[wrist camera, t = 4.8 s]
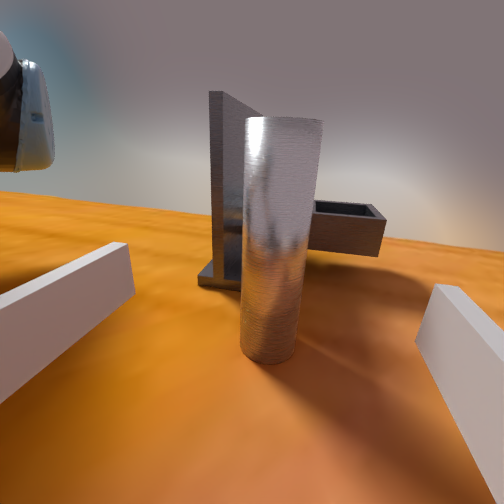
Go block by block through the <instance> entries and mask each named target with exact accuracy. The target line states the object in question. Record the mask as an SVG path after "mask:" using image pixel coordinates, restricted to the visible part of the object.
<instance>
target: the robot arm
mask: <svg viewBox="0 0 504 504" xmlns="http://www.w3.org/2000/svg"><path fill="white" fill-rule="evenodd" d="M54 147H55V146H54V134H53V124H52V117H51V109H50V103H49V97H48V92H47V87H46V82H45V78H44V75H43V72H42V70H41V69H40V67H39V66H38V65H37V64H36V63H33V62H29V61H28V60H26V59H21V60H17V58H16V56H15V54H14V52H13V50H12V47H11V45H10V43H9V41H8V39H7V38H6V36H5V35H4V34H3V33H2V31H0V172H16V173H17V172H20V171H28V170H42V169H46V168H48V167H50V165H51V164H52V163H53V161H54V155H55V148H54ZM133 295H135V287H134V281H133V275H132V268H131V262H130V255H129V249H128V244H126V243H119V242H112V243H110V244H108V245H106V246H104V247H102V248H99V249H97V250H95V251H93V252H91V253H89V254H87V255H85V256H82V257H80V258H78V259H76V260H74V261H72V262H70V263H68V264H65V265H63V266H61V267H59V268H57V269H55V270H53V271H51V272H48V273H46V274H44V275H42V276H40V277H38V278H36V279H34V280H31V281H29V282H27V283H25V284H23V285H21V286H19V287H16V288H14V289H12V290H10V291H8V292H6V293H4V294H2V295H0V404H1V403H2V402H3V401H4V400H6V399H7V398H8V397H9V396H11V395H12V394H13V393H14V392H15V391H17V390H18V389H19V388H20V387H22V386H23V385H24V384H25V383H26V382H28V381H29V380H30V379H31V378H33V377H34V376H35V375H36V374H38V373H39V372H40V371H41V370H42V369H44V368H45V367H46V366H47V365H49V364H50V363H51V362H52V361H54V360H55V359H56V358H57V357H58V356H60V355H61V354H62V353H63V352H65V351H66V350H67V349H68V348H69V347H71V346H72V345H73V344H74V343H76V342H77V341H78V340H79V339H81V338H82V337H83V336H84V335H85V334H87V333H88V332H89V331H90V330H92V329H93V328H94V327H95V326H97V325H98V324H99V323H100V322H101V321H103V320H104V319H105V318H106V317H108V316H109V315H110V314H111V313H112V312H114V311H115V310H116V309H117V308H119V307H120V306H121V305H122V304H124V303H125V302H126V301H127V300H128V299H130V298H131V297H132V296H133ZM415 343H416V345H417V347H418V349H419V351H420V353H421V355H422V357H423V359H424V361H425V363H426V365H427V367H428V369H429V371H430V373H431V375H432V377H433V379H434V381H435V383H436V385H437V386H438V388H439V390H440V392H441V394H442V396H443V398H444V400H445V402H446V404H447V406H448V408H449V410H450V412H451V414H452V416H453V418H454V420H455V422H456V424H457V426H458V428H459V430H460V432H461V434H462V436H463V438H464V440H465V442H466V444H467V446H468V448H469V450H470V452H471V454H472V456H473V458H474V460H475V462H476V464H477V466H478V468H479V470H480V472H481V474H482V476H483V478H484V480H485V482H486V484H487V486H488V488H489V490H490V492H491V494H492V496H493V498H494V500H495V502H496V503H497V504H504V331H503V330H502V329H501V328H500V327H499V326H498V325H497V324H496V323H495V322H494V321H493V320H492V319H491V318H490V317H489V316H488V315H487V314H486V313H485V312H484V311H482V310H481V309H480V308H479V307H478V306H477V305H476V304H475V303H474V302H473V301H472V300H471V299H470V298H469V297H468V296H467V295H466V294H465V293H464V292H463V291H462V290H461V289H460V288H459V287H458V286H451V285H443V284H435V286H434V288H433V291H432V294H431V297H430V300H429V303H428V305H427V308H426V311H425V314H424V317H423V320H422V322H421V325H420V328H419V331H418V334H417V336H416V339H415Z"/></svg>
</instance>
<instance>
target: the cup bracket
mask: <svg viewBox="0 0 504 504" xmlns="http://www.w3.org/2000/svg"><path fill="white" fill-rule="evenodd" d="M209 115H210V116H209V118H210V159H211V160H210V161H211V206H212V250H213V259H212V260H211V261H210V262H209V263H208V265H207V266H206V267H205V268H204V269H203V270H202V271H201V272H200V273H199V274H198V285H202V286H208V287H215V288H221V289H228V290H234V291H241V275H242V234H243V192H244V150H245V119H247V118H253V117H263V115H262V114H260V113H258V112H257V111H255V110H253V109H252V108H250V107H248V106H247V105H245V104H243V103H242V102H240V101H238V100H237V99H235V98H233V97H232V96H230V95H228V94H226V93H225V92H223V91H209ZM386 221H387V220H386V219H385V218H384V217H383V216H382V215H381V214H380V212H378V210H377V209H376V208H375V207H374V206H373V205H372V204H360V203H348V202H335V201H321V200H314V202H313V210H312V218H311V225H310V233H309V241H308V249H310V250H319V251H327V252H336V253H345V254H354V255H362V256H371V257H378V254H379V250H380V246H381V242H382V238H383V234H384V230H385V225H386Z"/></svg>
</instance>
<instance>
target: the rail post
mask: <svg viewBox="0 0 504 504" xmlns="http://www.w3.org/2000/svg"><path fill="white" fill-rule="evenodd" d="M323 124H324V121H321V120H316V119H307V118H293V117H253V118H247V119H245V150H244V192H243V234H242V275H241V317H240V347H241V350H242V351H243V353H244V354H245V355H246V356H247V357H248V358H250V359H251V360H253V361H255V362H258V363H262V364H278V363H282V362H284V361H286V360H287V359H289V358H290V357H291V356H292V354H293V353H294V349H295V342H296V334H297V327H298V319H299V311H300V303H301V296H302V288H303V280H304V272H305V264H306V257H307V249H308V241H309V233H310V225H311V218H312V210H313V202H314V194H315V186H316V179H317V170H318V163H319V155H320V147H321V140H322V131H323Z"/></svg>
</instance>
